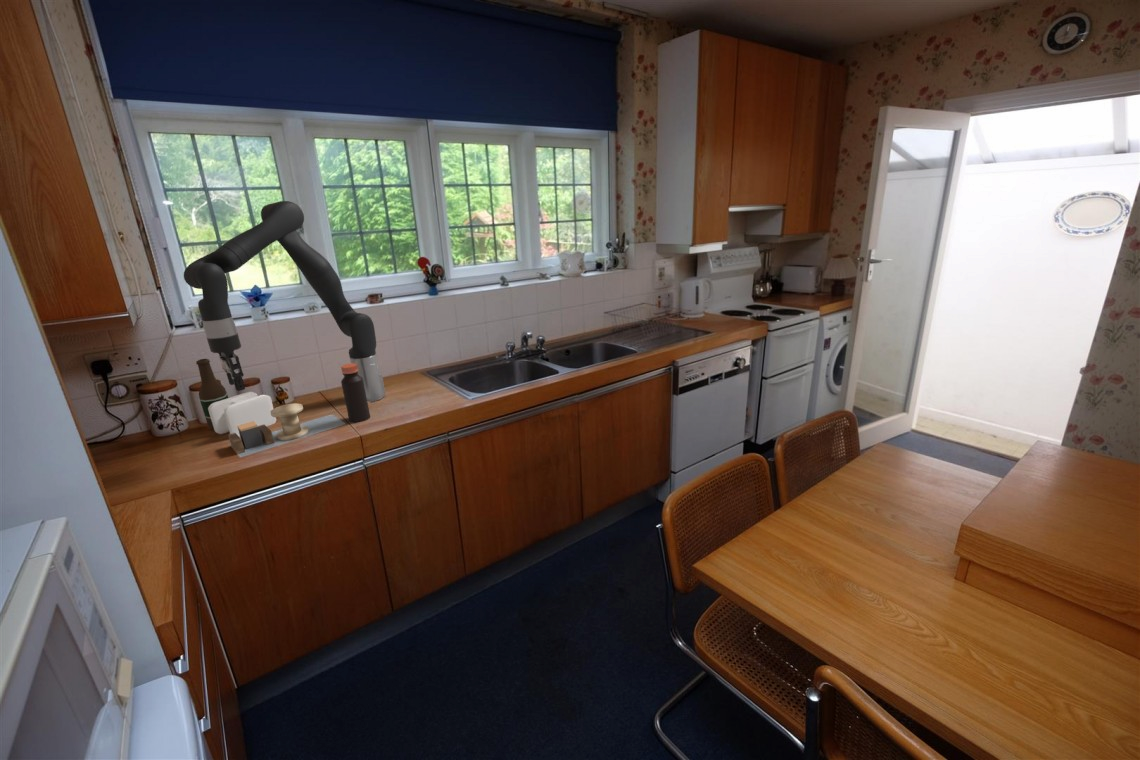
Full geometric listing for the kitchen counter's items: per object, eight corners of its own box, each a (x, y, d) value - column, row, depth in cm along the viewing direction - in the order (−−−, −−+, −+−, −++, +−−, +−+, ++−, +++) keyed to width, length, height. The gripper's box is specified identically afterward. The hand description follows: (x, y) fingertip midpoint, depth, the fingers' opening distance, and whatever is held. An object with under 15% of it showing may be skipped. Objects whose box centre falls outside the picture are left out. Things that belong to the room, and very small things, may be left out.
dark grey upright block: (259, 440, 157) (253, 421, 154) (262, 444, 153) (257, 424, 151) (242, 445, 154) (237, 425, 152) (246, 449, 151) (240, 429, 148)
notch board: (267, 435, 160) (264, 424, 158) (274, 442, 154) (271, 431, 153) (231, 446, 153) (227, 434, 152) (237, 454, 148) (233, 442, 146)
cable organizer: (232, 442, 158) (221, 409, 154) (215, 436, 164) (205, 404, 160) (278, 425, 170) (270, 393, 166) (261, 419, 176) (253, 389, 172)
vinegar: (371, 415, 174) (361, 361, 167) (370, 423, 168) (358, 367, 161) (351, 419, 172) (339, 364, 166) (348, 426, 166) (336, 369, 159)
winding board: (332, 416, 175) (332, 414, 175) (346, 426, 166) (346, 423, 166) (230, 447, 155) (229, 444, 154) (240, 460, 146) (239, 457, 146)
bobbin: (303, 426, 165) (297, 401, 162) (312, 433, 159) (306, 407, 156) (273, 435, 159) (266, 409, 157) (282, 443, 153) (275, 416, 150)
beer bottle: (220, 421, 176) (200, 356, 168) (240, 421, 175) (221, 356, 167) (203, 431, 169) (181, 363, 161) (225, 430, 168) (204, 362, 160)
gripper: (242, 334, 140) (257, 388, 145) (231, 328, 150) (245, 378, 155) (211, 340, 135) (228, 396, 140) (201, 333, 145) (217, 385, 150)
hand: (237, 387), depth 148 cm, fingers open, 8 cm apart
